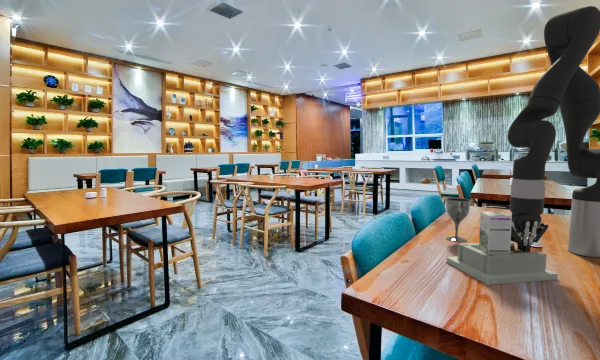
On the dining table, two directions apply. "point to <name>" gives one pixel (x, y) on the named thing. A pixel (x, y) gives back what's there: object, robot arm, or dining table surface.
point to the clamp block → (515, 250)
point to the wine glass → (457, 214)
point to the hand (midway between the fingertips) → (523, 257)
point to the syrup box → (495, 232)
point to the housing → (501, 265)
